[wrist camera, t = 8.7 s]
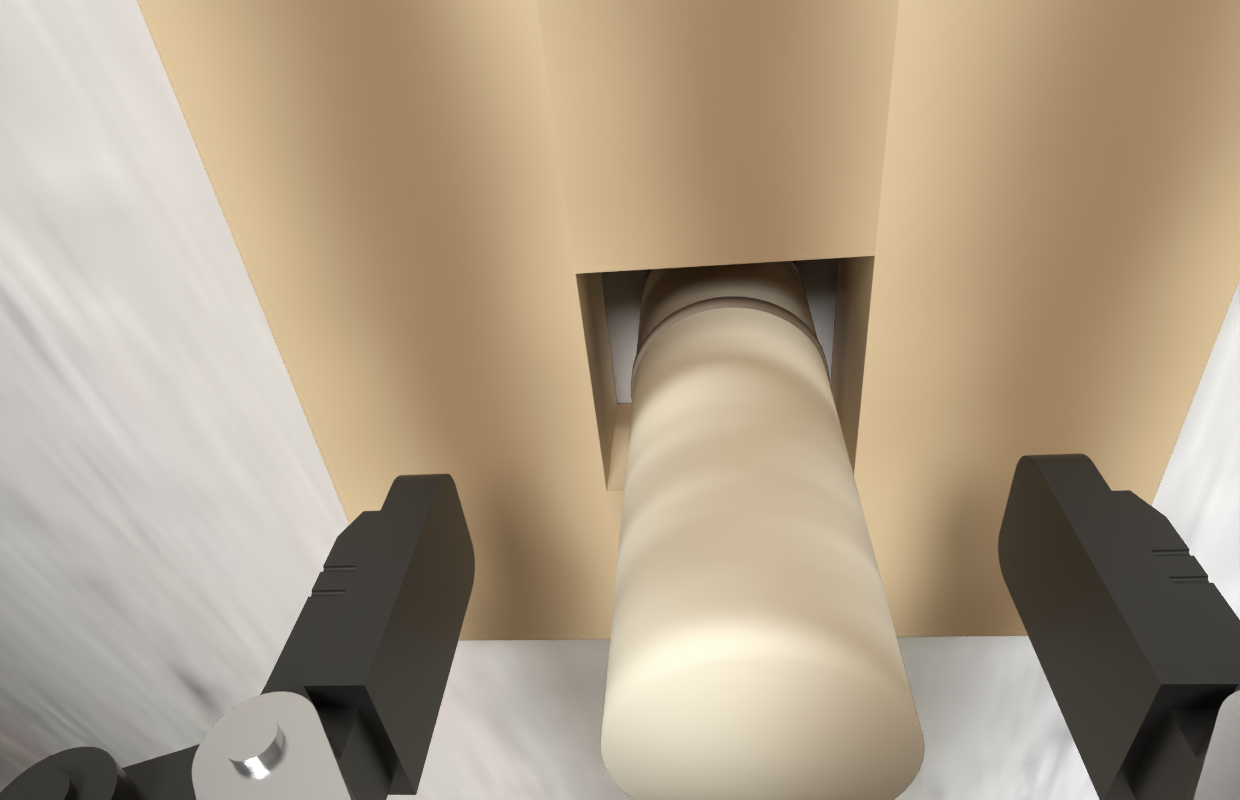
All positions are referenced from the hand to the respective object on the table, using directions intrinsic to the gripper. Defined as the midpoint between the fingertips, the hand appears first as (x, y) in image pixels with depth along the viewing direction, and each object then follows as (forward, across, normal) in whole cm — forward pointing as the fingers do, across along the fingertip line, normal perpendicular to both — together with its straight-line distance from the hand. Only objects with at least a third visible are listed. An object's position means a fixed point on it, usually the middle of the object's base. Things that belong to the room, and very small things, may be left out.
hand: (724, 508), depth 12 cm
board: (+6, 0, 0) cm, 6 cm away
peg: (+6, 0, 0) cm, 6 cm away
